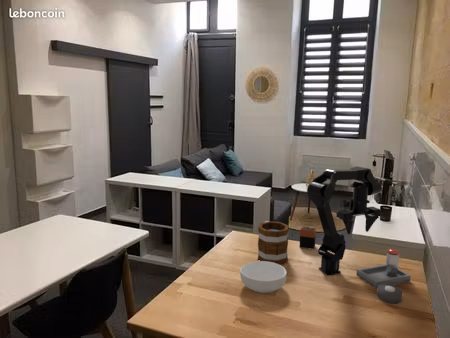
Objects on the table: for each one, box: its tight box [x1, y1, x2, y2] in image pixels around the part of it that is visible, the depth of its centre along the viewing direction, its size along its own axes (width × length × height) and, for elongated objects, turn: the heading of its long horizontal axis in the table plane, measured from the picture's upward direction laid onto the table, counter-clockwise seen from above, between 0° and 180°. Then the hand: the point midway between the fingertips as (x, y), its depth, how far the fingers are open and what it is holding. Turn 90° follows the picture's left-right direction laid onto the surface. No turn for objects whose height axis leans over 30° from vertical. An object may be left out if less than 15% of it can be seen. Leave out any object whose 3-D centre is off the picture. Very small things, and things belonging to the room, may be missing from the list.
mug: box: [257, 220, 289, 266], centre depth 163 cm, size 20×14×15 cm
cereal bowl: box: [239, 260, 288, 294], centre depth 136 cm, size 17×17×7 cm
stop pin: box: [385, 247, 401, 277], centre depth 144 cm, size 4×4×10 cm
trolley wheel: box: [376, 284, 403, 304], centre depth 130 cm, size 8×8×4 cm
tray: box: [356, 263, 412, 289], centre depth 144 cm, size 16×11×2 cm
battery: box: [299, 225, 317, 250], centre depth 174 cm, size 4×7×10 cm, turn 70°
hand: (357, 232), depth 156 cm, fingers open, 9 cm apart
